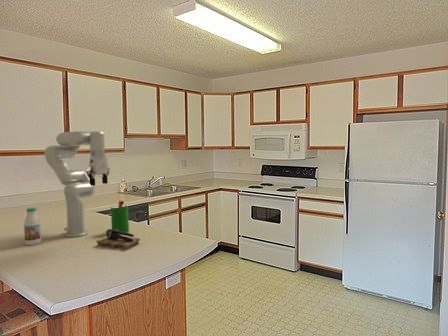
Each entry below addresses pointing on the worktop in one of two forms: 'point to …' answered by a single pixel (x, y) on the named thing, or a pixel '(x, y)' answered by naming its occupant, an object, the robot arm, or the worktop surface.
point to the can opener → (118, 234)
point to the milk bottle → (32, 228)
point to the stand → (118, 242)
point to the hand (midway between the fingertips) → (98, 184)
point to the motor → (120, 218)
